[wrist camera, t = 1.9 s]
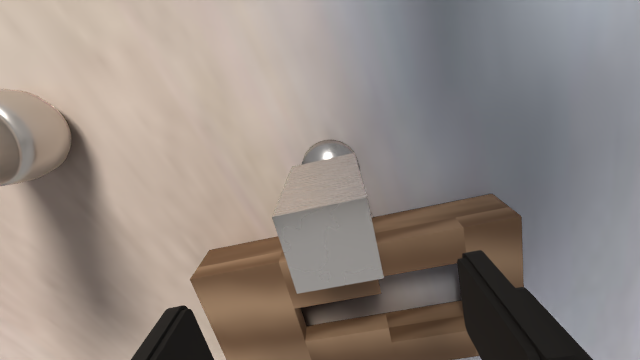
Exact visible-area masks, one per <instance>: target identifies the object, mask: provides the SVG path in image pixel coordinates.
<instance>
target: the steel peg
mask: <svg viewBox="0 0 640 360" xmlns="http://www.w3.org/2000/svg"><path fill="white" fill-rule="evenodd" d="M272 218H273V221H274V224H275V228H276V231H277V234H278V237H279V240H280V243H281V246H282V249H283V252H284V255H285V258H286V261H287V264H288V268H289V271H290V274H291V277H292V280H293V283H294V286H295V289H296V292H297V294H299V293H304V292H310V291H316V290H321V289H327V288H332V287H338V286H344V285H349V284H355V283H361V282H366V281H372V280H377V279H383V278H384V276H383V271H382V267H381V262H380V257H379V252H378V247H377V242H376V238H375V233H374V228H373V223H372V218H371V214H370V209H369V204H368V199H367V195H366V192H365V188H364V185H363V181H362V178H361V174H360V167H359V164H358V160H357V157H356V155H355V153H354V152H353V150H352V149H351V148H350V147H349V146H347V145H346V144H344V143H342V142H340V141H336V140H324V141H321V142H318V143H316V144H315V145H313V146H312V147H311V148H310V149H309V150H308V151H307V152H306V154H305V156H304V159H303V162H302V165H298V166H293V167H292V168H291V170H290V173H289V175H288V178H287V180H286V183H285V185H284V188H283V191H282V193H281V196H280V198H279V201H278V203H277V206H276V208H275V211H274V213H273V216H272Z"/></svg>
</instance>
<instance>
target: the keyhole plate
mask: <svg viewBox="0 0 640 360" xmlns="http://www.w3.org/2000/svg"><path fill="white" fill-rule="evenodd" d="M372 223H373V228H374V233H375V238H376V242H377V247H378V252H379V257H380V262H381V267H382V271H383V276H388V275H394V274H400V273H405V272H411V271H416V270H422V269H428V268H433V267H439V266H444V265H450V264H456V263H457V260H458V259H460V258H462V254H463V253H467V252H472V251H477V250H482V251H483V252H484V253H485V254H486V255H487V257H488V258H489V259H490V260H491V261H492V262H493V263H494V264H495V266H496V267H497V268H498V269H499V270H500V271H501V272H502V273H503V275H504V276H505V277H506V278H507V279H508V280H509V281H510V283H511V284H512V285H513V286H514V287H515V288H519V287H523V288H524V285H523V251H522V217H521V216H520V215H519V214H518V213H517V212H515V211H514V210H513V209H511V208H510V207H509V206H507V205H506V204H505V203H504V202H502V201H501V200H500V199H498V198H497V197H496V196H495V195H493V194H488V195H483V196H478V197H473V198H468V199H463V200H458V201H453V202H448V203H443V204H438V205H433V206H428V207H423V208H418V209H413V210H408V211H403V212H398V213H393V214H388V215H383V216H378V217H373V218H372ZM190 281H191V283H192V285H193V287H194V289H195V292H196V294H197V296H198V298H199V300H200V303H201V305H202V307H203V309H204V311H205V314H206V316H207V318H208V320H209V322H210V324H211V327H212V329H213V331H214V333H215V335H216V338H217V340H218V342H219V344H220V346H221V349H222V351H223V353H224V355H225V357H226V360H453V359H460V358H467V357H474V356H480V355H479V354H478V352H477V350H476V348H475V346H474V344H473V343H472V341H471V339H470V337H469V335H468V333H467V330H466V327H465V322H464V314H463V305H462V301H456V302H449V303H443V304H437V305H431V306H425V307H419V308H413V309H407V310H401V311H395V312H389V313H383V314H377V315H371V316H365V317H359V318H353V319H347V320H341V321H335V322H329V323H323V324H317V325H310V326H306V324H305V321H304V318H303V315H302V312H301V307H307V306H313V305H319V304H324V303H330V302H336V301H342V300H348V299H353V298H359V297H365V296H371V295H377V294H381V290H380V285H379V280H378V279H377V280H372V281H366V282H361V283H355V284H349V285H344V286H338V287H332V288H327V289H321V290H316V291H310V292H304V293H299V294H297V292H296V289H295V286H294V283H293V280H292V277H291V274H290V271H289V268H288V264H287V261H286V258H285V255H284V252H283V249H282V246H281V243H280V240H279V237H273V238H268V239H263V240H258V241H253V242H248V243H243V244H238V245H233V246H228V247H223V248H218V249H213V250H209V252H208V253H207V255H206V256H205V258H204V259H203V261H202V262H201V264H200V265H199V267H198V268H197V270H196V271H195V273H194V274H193V276H192V277H191V279H190Z"/></svg>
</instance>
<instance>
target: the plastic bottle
mask: <svg viewBox="0 0 640 360" xmlns="http://www.w3.org/2000/svg"><path fill="white" fill-rule="evenodd" d="M70 147H71V132H70V128H69V126H68V124H67V122H66V120H65V119H64V117H63V116H62V114H61V113H60V112H59V111H58V110H57V109H56V108H55V107H53V106H52V105H51V104H49V103H48V102H46V101H44V100H43V99H41V98H39V97H38V96H35V95H33V94H31V93H28V92H23V91H18V90H7V89H0V186H5V185H11V184H17V183H21V182H26V181H30V180H34V179H37V178H40V177H42V176H44V175H46V174H47V173H49V172H50V171H52V170H54V169H55V168H57V167H58V166H60V165H61V164H62V163H63V162H64V161H65V159H66V157H67V155H68V153H69V150H70Z"/></svg>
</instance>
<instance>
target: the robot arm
mask: <svg viewBox="0 0 640 360" xmlns="http://www.w3.org/2000/svg"><path fill="white" fill-rule="evenodd" d="M457 264H458V272H459V281H460V289H461V297H462V305H463V314H464V322H465V327H466V330H467V333H468V335H469V337H470V339H471V341H472V343H473V344H474V346H475V348H476V350H477V352H478V354H479V355H480V357H481V359H482V360H593V359H592V358H591V357H590V356H589V355H588V354H587V353H586V352H585V351H584V350H583V349H582V347H581V346H580V345H579V344H578V343H577V342H576V341H575V340H574V339H573V338H572V337H571V336H570V335H569V334H568V333H567V331H566V330H565V329H564V328H563V327H562V326H561V325H560V324H559V323H558V322H557V321H556V320H555V319H554V318H553V316H552V315H551V314H550V313H549V312H548V311H547V310H546V309H545V308H544V307H543V306H542V305H541V304H540V303H539V302H538V300H537V299H536V298H535V297H534V296H533V295H532V294H531V293H530V292H529V291H528V290H527V289H526V288H523V287H519V288H515V287H514V286H513V285H512V284H511V283H510V281H509V280H508V279H507V278H506V277H505V276H504V275H503V273H502V272H501V271H500V270H499V269H498V268H497V267H496V266H495V264H494V263H493V262H492V261H491V260H490V259H489V258H488V257H487V255H486V254H485V253H484V252H483V251H482V250H477V251H472V252H467V253H463V254H462V258H460V259H458V260H457ZM131 360H214V358H213V356H212V354H211V352H210V350H209V347H208V345H207V343H206V341H205V338H204V336H203V334H202V332H201V329H200V327H199V325H198V323H197V321H196V318H195V316H194V314H193V312H192V310H191V309H188V308H187V307H186V306H179V307H173V308H169V309H167V310H166V311H165V312H164V313H163V315H162V316H161V318H160V319H159V321H158V322H157V323H156V325H155V326H154V328H153V329H152V330H151V332H150V333H149V335H148V336H147V338H146V339H145V340H144V342H143V343H142V345H141V346H140V348H139V349H138V350H137V352H136V353H135V355H134V356H133V357H132V359H131Z"/></svg>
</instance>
